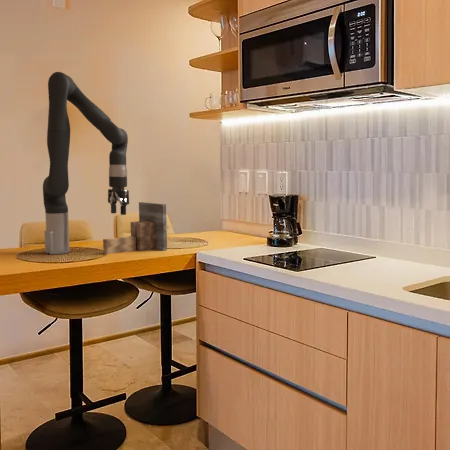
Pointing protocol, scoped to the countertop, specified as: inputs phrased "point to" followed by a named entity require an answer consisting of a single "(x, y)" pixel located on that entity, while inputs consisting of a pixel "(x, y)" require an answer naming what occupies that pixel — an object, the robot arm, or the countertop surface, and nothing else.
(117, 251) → the rail
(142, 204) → the slotted block base plate
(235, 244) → the countertop surface
